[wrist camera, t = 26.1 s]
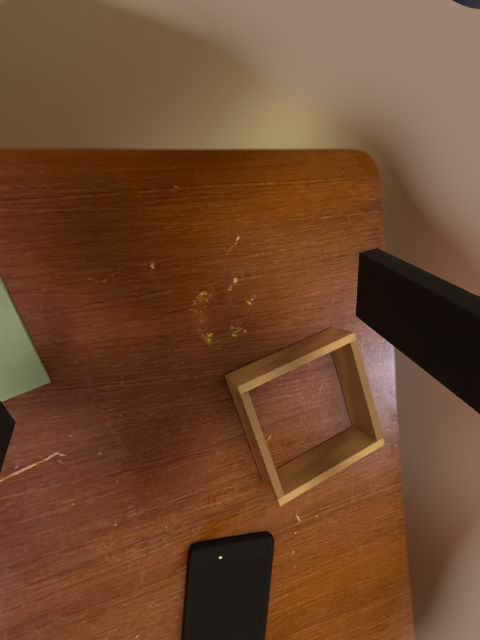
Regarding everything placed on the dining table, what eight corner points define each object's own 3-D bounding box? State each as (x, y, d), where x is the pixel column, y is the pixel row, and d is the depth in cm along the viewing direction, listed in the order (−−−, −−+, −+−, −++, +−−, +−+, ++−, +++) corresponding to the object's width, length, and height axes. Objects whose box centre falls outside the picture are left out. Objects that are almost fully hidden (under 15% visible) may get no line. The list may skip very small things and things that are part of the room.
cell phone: (175, 712, 35) (177, 723, 34) (189, 543, 34) (190, 550, 33) (256, 686, 38) (259, 695, 37) (271, 530, 36) (275, 536, 36)
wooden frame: (330, 327, 37) (355, 332, 33) (359, 429, 39) (385, 444, 35) (224, 375, 33) (237, 386, 29) (263, 483, 36) (280, 506, 32)
